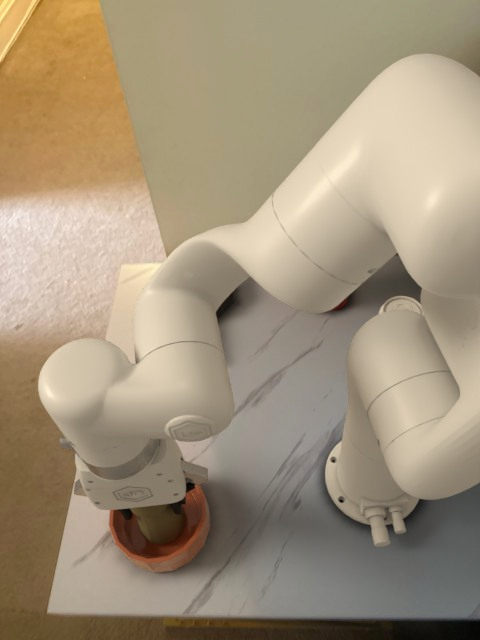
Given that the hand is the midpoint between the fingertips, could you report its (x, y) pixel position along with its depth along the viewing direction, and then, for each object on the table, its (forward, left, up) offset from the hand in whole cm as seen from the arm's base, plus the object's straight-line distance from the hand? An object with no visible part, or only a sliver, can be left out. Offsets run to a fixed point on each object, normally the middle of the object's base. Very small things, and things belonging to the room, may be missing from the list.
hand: (153, 504), depth 68 cm
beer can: (+19, -34, -8) cm, 40 cm away
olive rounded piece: (0, 0, -6) cm, 6 cm away
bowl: (0, 0, -7) cm, 7 cm away
